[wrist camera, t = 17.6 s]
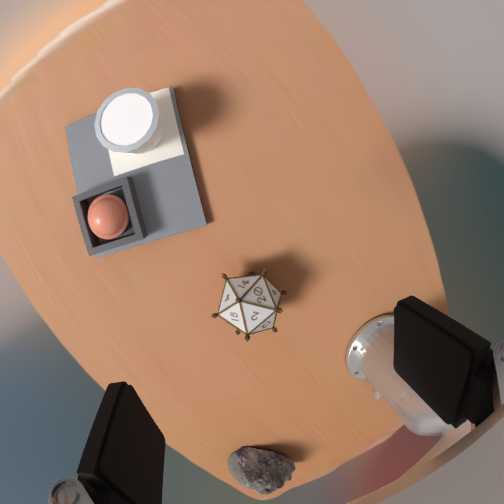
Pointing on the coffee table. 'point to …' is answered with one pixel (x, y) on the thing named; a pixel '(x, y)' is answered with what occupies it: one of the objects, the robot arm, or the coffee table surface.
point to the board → (137, 181)
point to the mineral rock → (260, 469)
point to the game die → (250, 303)
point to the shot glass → (129, 122)
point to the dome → (108, 216)
